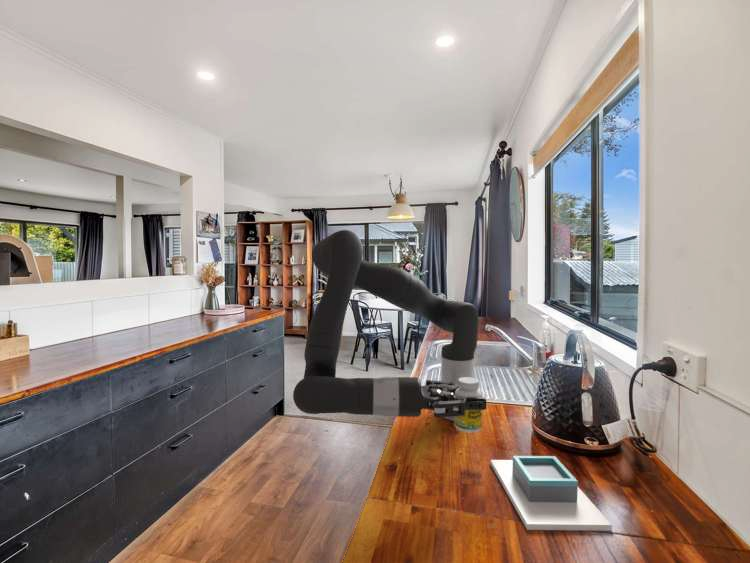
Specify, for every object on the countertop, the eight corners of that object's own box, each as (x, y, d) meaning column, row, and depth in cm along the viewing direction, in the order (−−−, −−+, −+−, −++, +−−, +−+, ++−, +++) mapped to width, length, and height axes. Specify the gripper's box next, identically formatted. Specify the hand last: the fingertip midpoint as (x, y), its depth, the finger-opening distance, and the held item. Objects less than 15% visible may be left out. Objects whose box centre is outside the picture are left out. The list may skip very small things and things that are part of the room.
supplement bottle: (466, 419, 77) (468, 374, 77) (487, 429, 73) (488, 381, 72) (448, 425, 74) (449, 378, 74) (468, 436, 70) (469, 386, 69)
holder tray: (490, 464, 81) (491, 442, 81) (554, 464, 81) (554, 442, 81) (527, 529, 61) (527, 500, 61) (611, 530, 61) (612, 501, 61)
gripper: (398, 390, 66) (493, 392, 66) (395, 367, 80) (473, 368, 80) (397, 431, 66) (492, 433, 66) (394, 401, 81) (472, 402, 81)
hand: (481, 397), depth 73 cm, fingers closed on supplement bottle, 5 cm apart
